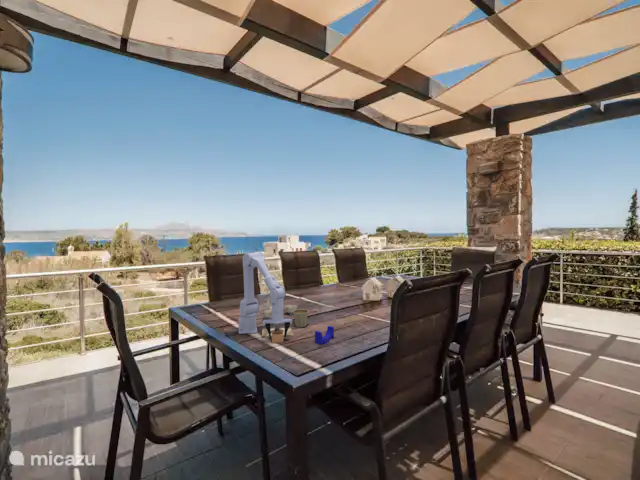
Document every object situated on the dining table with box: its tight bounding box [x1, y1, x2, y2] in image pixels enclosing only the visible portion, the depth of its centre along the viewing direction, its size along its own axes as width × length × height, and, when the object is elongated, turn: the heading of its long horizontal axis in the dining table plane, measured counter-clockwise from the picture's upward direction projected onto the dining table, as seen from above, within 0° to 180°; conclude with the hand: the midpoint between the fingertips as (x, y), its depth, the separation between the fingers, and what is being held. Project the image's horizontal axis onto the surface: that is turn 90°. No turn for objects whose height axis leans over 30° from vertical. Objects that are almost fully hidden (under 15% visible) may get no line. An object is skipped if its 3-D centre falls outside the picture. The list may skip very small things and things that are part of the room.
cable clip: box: [314, 325, 335, 346], centre depth 167 cm, size 12×4×6 cm, turn 142°
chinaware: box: [260, 295, 299, 320], centre depth 213 cm, size 28×17×17 cm, turn 143°
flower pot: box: [293, 308, 310, 328], centre depth 191 cm, size 9×9×9 cm
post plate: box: [261, 324, 294, 339], centre depth 178 cm, size 16×12×6 cm
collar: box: [271, 331, 284, 344], centre depth 167 cm, size 6×6×4 cm
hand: (277, 337), depth 167 cm, fingers open, 7 cm apart
